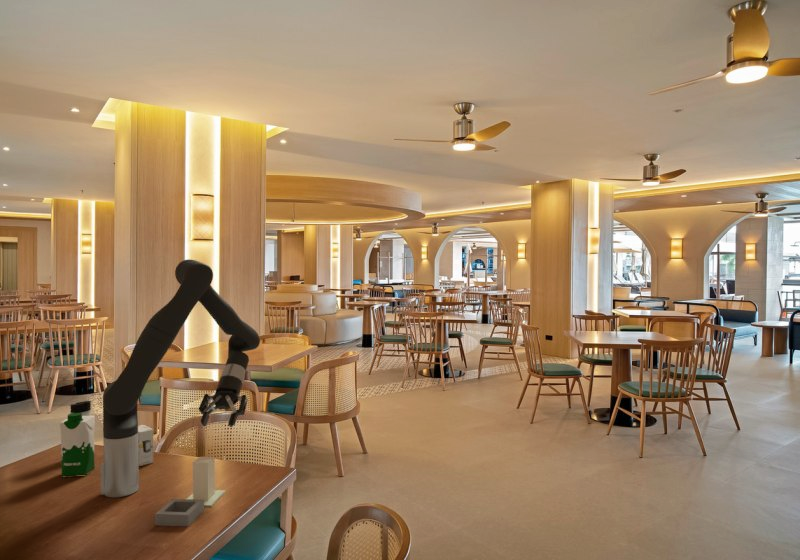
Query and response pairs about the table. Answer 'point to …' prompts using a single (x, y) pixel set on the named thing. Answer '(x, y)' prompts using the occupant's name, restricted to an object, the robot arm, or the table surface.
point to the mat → (213, 499)
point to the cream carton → (203, 478)
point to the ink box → (145, 445)
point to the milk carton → (77, 444)
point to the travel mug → (82, 408)
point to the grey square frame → (179, 512)
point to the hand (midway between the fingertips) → (216, 425)
